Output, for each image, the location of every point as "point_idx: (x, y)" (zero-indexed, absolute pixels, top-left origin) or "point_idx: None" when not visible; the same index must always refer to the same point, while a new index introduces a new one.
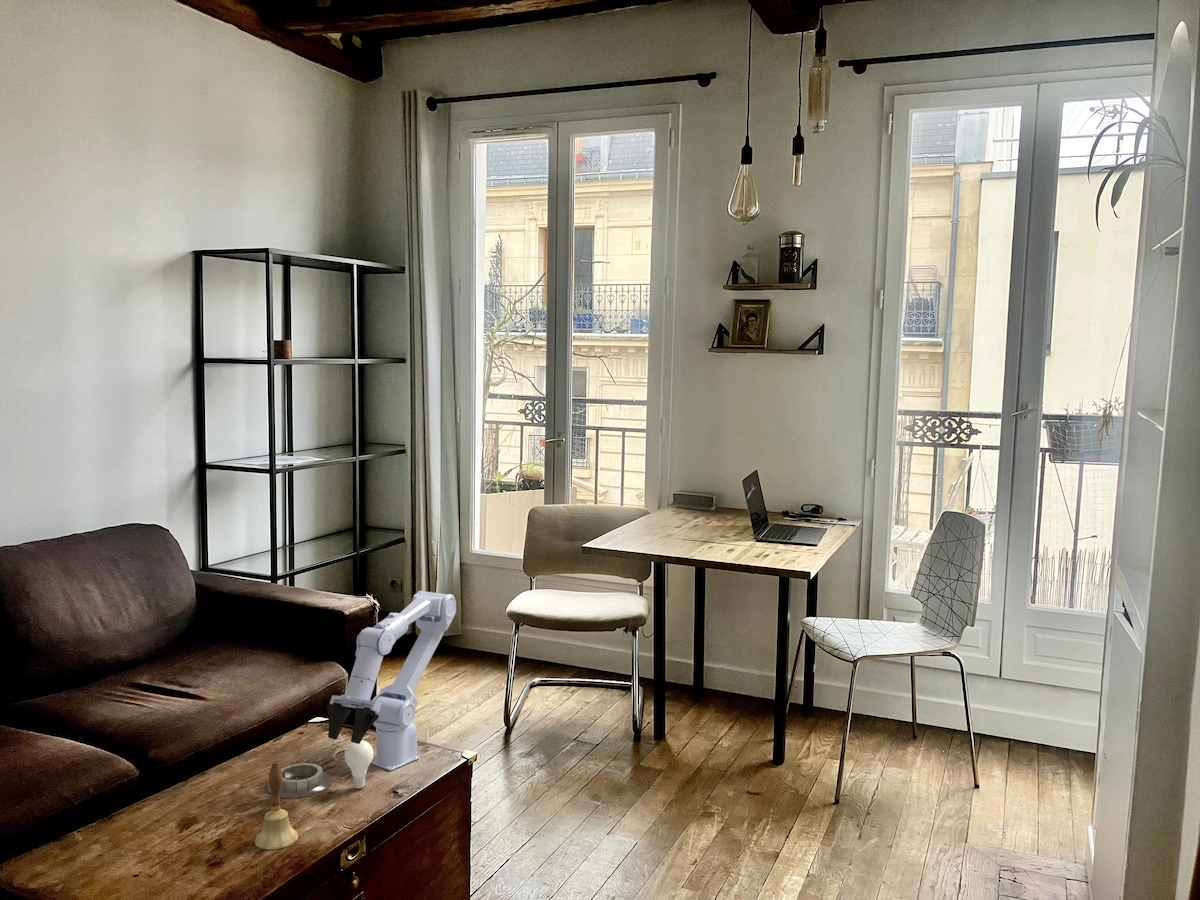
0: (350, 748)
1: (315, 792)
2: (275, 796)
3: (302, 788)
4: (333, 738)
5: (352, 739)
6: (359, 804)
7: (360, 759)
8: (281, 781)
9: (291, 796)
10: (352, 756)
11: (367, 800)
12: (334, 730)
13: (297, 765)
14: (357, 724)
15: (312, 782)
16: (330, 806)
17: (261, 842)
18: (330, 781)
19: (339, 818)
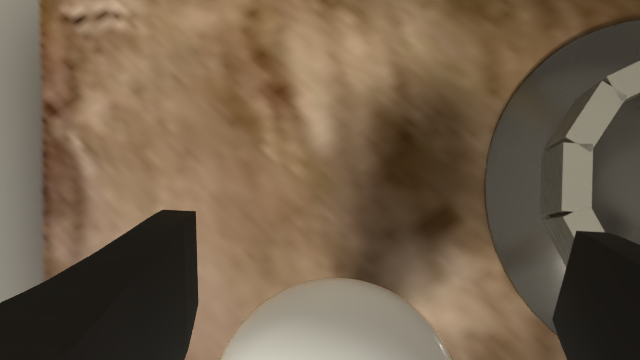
0: (344, 322)
1: (497, 163)
2: None
3: (567, 120)
4: (564, 282)
5: (164, 216)
6: (208, 211)
7: (241, 323)
8: None
9: (564, 56)
10: (294, 289)
11: (205, 267)
12: (619, 324)
13: None
14: (28, 293)
15: (554, 172)
16: (316, 112)
17: None
18: (540, 309)
19: (185, 53)
